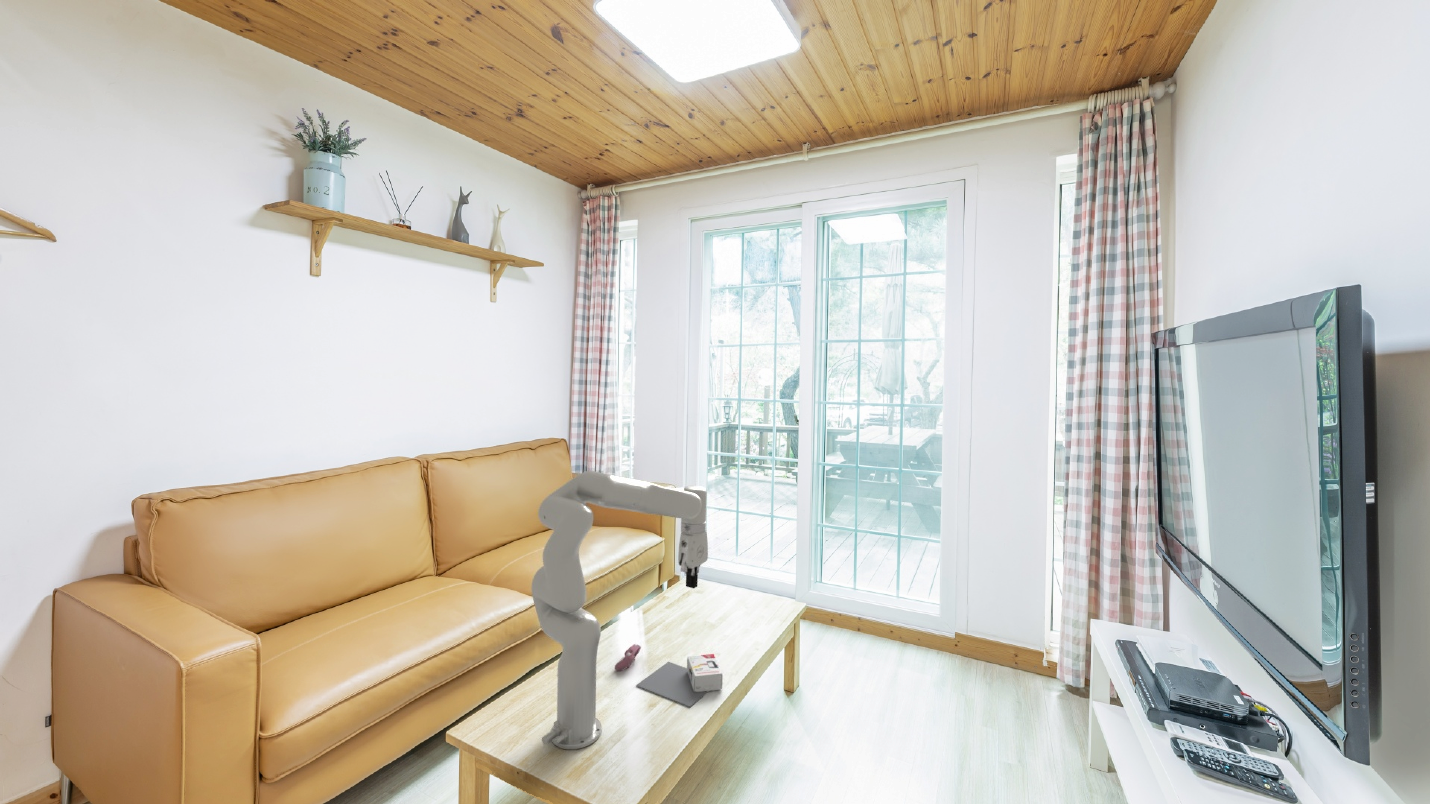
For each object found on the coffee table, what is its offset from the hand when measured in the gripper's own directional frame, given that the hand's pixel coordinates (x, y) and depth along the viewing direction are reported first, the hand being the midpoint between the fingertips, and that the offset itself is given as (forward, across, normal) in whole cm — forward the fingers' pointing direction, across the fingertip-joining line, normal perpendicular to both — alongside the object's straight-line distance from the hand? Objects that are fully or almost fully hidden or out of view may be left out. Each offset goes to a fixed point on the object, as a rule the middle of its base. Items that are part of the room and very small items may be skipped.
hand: (691, 586), depth 168 cm
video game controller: (+28, -6, +19) cm, 34 cm away
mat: (+27, -6, 0) cm, 28 cm away
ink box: (+24, +3, -2) cm, 25 cm away
